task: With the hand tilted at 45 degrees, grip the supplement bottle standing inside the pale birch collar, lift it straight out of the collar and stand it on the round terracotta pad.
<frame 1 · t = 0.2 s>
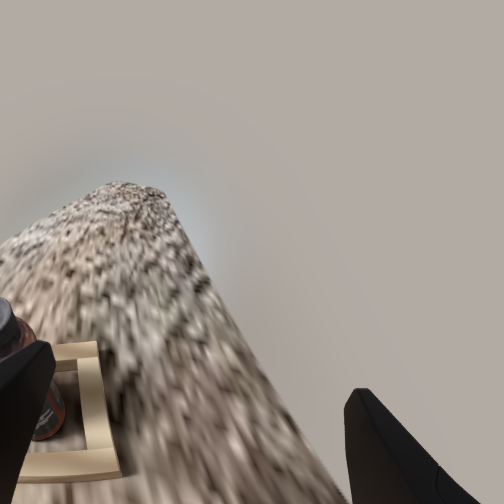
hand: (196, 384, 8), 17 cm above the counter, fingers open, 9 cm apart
supplement bottle: (37, 414, 20), resting in birch collar
birch collar: (36, 413, 20), on the counter
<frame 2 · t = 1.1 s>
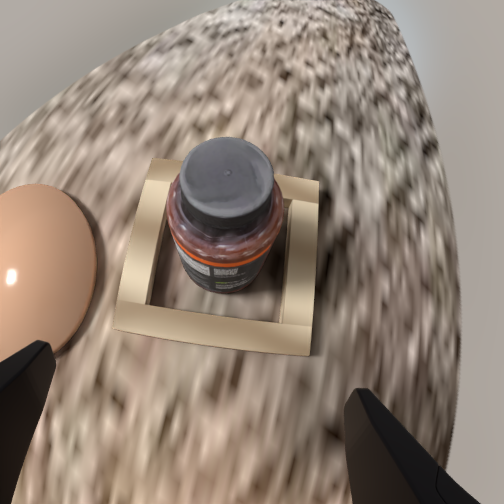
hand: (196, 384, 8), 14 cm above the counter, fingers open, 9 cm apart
terracotta pad: (18, 271, 21), on the counter
supplement bottle: (222, 256, 24), resting in birch collar
birch collar: (222, 255, 24), on the counter
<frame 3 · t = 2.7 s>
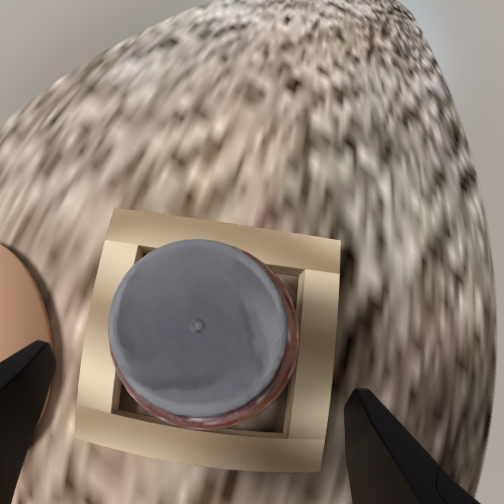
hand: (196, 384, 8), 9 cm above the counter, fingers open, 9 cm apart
supplement bottle: (209, 345, 17), resting in birch collar
birch collar: (209, 345, 17), on the counter
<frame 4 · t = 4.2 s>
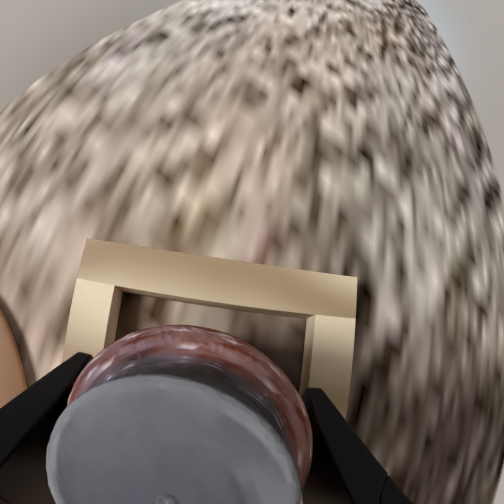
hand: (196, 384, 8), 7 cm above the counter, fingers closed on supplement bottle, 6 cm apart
supplement bottle: (201, 399, 14), resting in birch collar, touching gripper
birch collar: (201, 400, 14), on the counter
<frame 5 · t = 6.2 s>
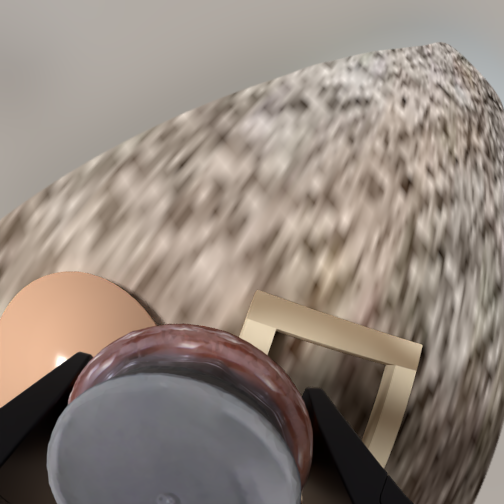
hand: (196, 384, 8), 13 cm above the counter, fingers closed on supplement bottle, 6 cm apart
terracotta pad: (74, 376, 19), on the counter
supplement bottle: (202, 399, 14), point 6 cm above the counter, touching gripper
birch collar: (312, 410, 21), on the counter
when the fingers open (9 cm above the counter, at t = 8.6 s): supplement bottle drops 1 cm, resting on terracotta pad.
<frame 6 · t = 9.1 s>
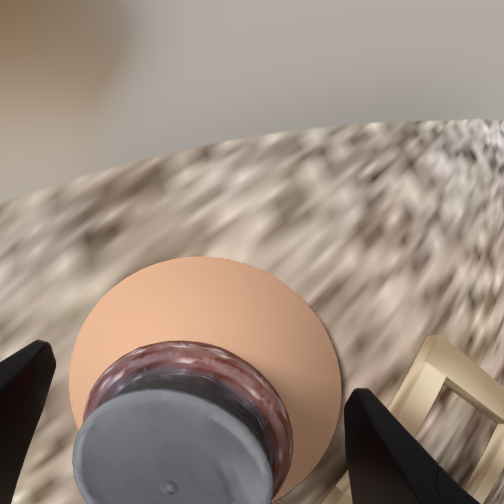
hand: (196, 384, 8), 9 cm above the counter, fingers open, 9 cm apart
terracotta pad: (202, 393, 16), on the counter
supplement bottle: (202, 399, 16), point 1 cm above the counter, touching terracotta pad
birch collar: (439, 459, 16), on the counter
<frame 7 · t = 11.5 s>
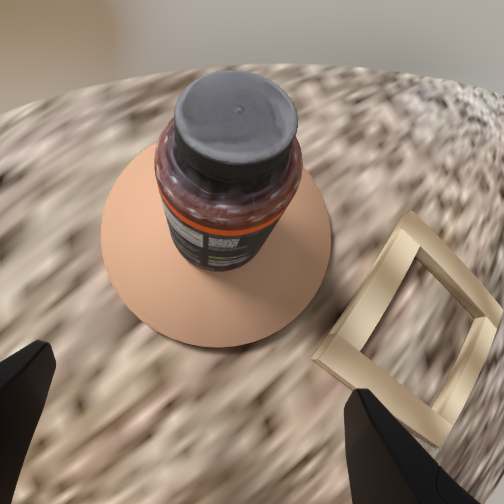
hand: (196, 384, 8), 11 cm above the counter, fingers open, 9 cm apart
terracotta pad: (216, 229, 21), on the counter
supplement bottle: (217, 228, 20), point 1 cm above the counter, touching terracotta pad
birch collar: (422, 333, 22), on the counter
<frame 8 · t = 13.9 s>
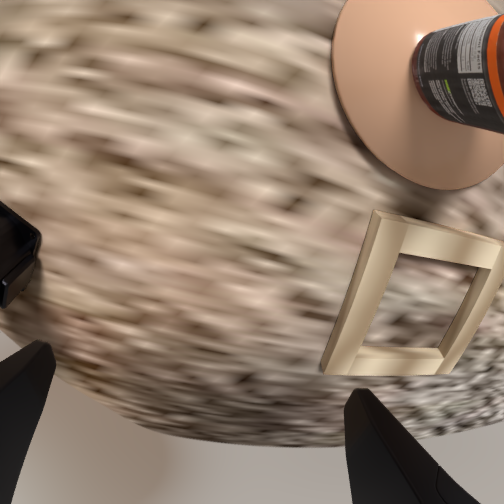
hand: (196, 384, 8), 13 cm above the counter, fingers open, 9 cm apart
terracotta pad: (442, 74, 15), on the counter
supplement bottle: (446, 75, 15), point 1 cm above the counter, touching terracotta pad
birch collar: (419, 303, 23), on the counter
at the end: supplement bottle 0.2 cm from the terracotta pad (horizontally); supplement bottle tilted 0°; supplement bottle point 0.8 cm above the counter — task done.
